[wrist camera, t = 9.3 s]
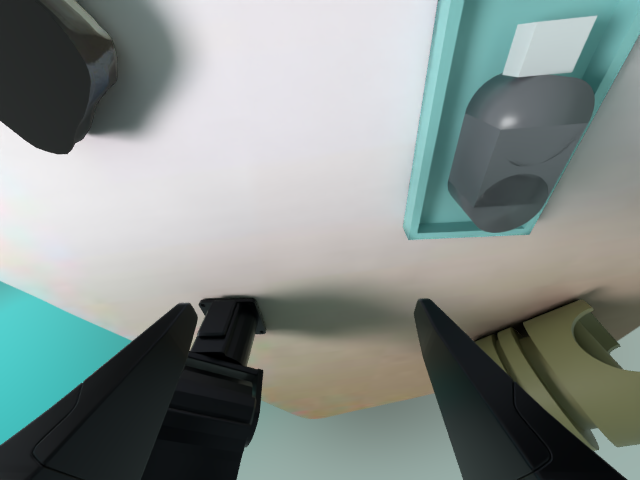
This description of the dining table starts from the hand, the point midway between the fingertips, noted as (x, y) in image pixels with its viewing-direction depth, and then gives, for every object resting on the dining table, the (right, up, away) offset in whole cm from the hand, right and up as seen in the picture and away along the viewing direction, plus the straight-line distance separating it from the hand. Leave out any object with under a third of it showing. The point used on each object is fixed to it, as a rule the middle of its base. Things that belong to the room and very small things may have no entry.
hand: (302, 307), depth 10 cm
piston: (+26, -8, +20) cm, 33 cm away
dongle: (+12, +9, +7) cm, 16 cm away
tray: (+12, +10, +6) cm, 17 cm away
